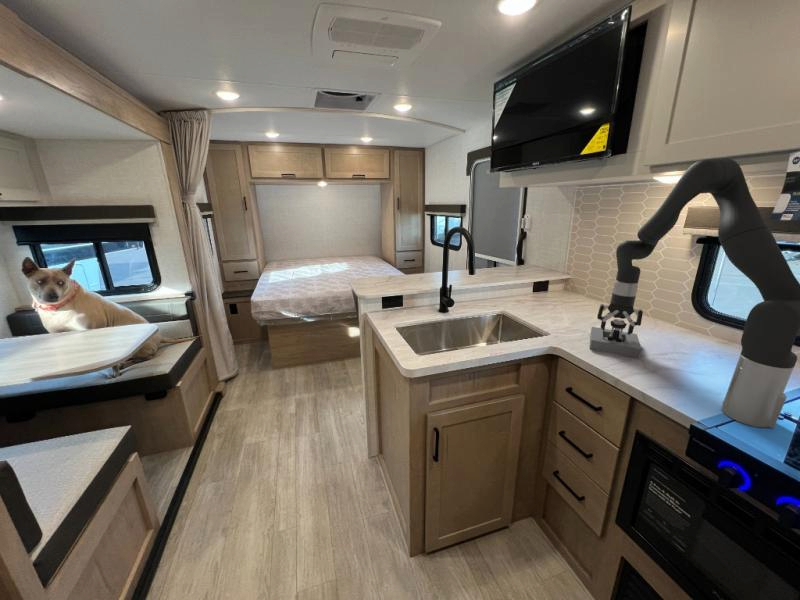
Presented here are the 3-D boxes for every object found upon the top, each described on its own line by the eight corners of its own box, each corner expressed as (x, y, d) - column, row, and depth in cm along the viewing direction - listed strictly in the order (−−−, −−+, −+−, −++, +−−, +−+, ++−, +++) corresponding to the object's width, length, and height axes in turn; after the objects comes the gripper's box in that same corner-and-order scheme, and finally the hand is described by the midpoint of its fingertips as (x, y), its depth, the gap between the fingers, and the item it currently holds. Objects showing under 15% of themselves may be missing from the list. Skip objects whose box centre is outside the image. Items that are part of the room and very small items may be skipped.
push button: (601, 342, 128) (605, 319, 125) (604, 338, 132) (608, 316, 129) (620, 347, 124) (625, 324, 121) (623, 343, 128) (628, 320, 125)
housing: (634, 343, 131) (636, 334, 130) (639, 358, 118) (641, 349, 116) (590, 335, 139) (591, 326, 137) (589, 349, 125) (591, 339, 124)
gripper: (602, 292, 122) (595, 331, 127) (648, 298, 115) (638, 339, 120) (602, 288, 128) (595, 325, 133) (645, 293, 121) (636, 332, 126)
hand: (615, 331), depth 126 cm, fingers open, 8 cm apart
